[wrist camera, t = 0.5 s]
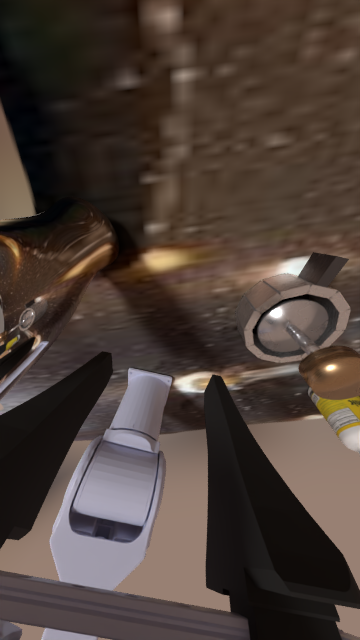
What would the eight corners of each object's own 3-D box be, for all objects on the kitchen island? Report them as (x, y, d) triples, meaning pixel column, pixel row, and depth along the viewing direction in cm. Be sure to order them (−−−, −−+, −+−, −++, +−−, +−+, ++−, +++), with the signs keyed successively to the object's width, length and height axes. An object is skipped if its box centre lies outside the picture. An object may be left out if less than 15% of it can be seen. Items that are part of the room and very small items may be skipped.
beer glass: (117, 199, 12) (-272, 394, 2) (128, 272, 17) (25, 426, 8) (32, 180, 12) (-805, 310, 2) (69, 261, 17) (-113, 403, 7)
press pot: (287, 346, 20) (306, 368, 17) (225, 332, 20) (231, 352, 17) (354, 262, 14) (403, 271, 11) (267, 242, 14) (289, 244, 11)
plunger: (298, 353, 17) (351, 416, 11) (246, 342, 17) (273, 399, 11) (340, 306, 13) (447, 361, 8) (276, 291, 13) (336, 336, 8)
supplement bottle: (353, 386, 23) (442, 473, 15) (320, 401, 26) (379, 482, 17) (331, 372, 22) (414, 458, 14) (299, 389, 25) (351, 469, 16)
